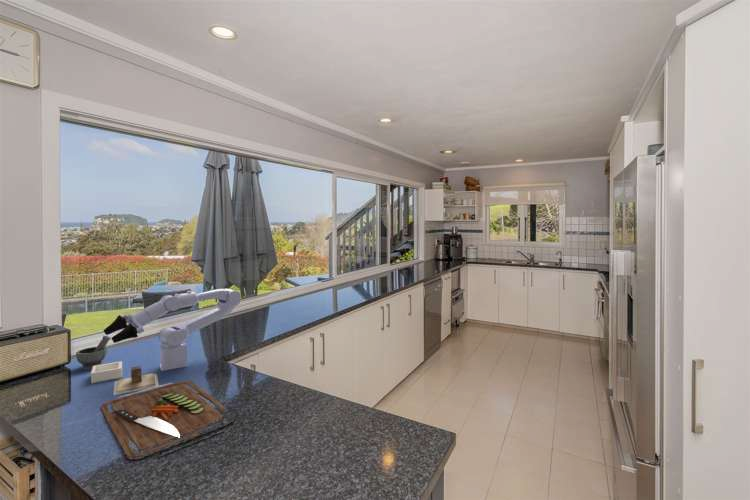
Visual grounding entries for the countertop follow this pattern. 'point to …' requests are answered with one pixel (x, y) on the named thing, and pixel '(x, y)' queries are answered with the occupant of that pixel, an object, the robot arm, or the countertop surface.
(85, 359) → the mortar and pestle
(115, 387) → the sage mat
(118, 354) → the countertop surface
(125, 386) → the birch lid
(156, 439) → the chopping board
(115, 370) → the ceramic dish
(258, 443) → the countertop surface
